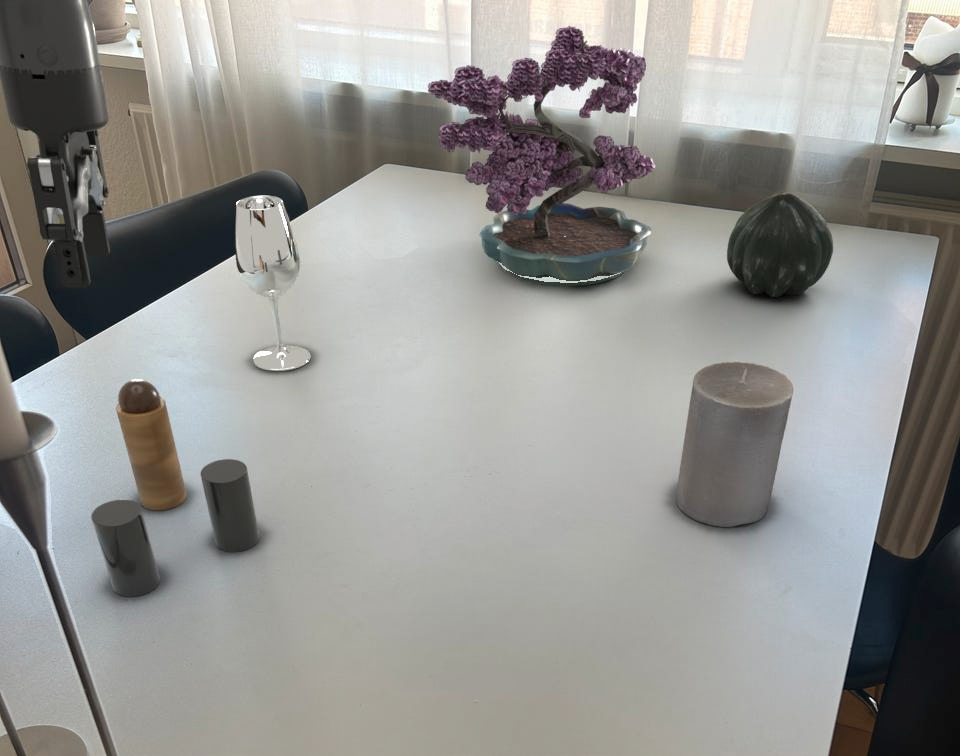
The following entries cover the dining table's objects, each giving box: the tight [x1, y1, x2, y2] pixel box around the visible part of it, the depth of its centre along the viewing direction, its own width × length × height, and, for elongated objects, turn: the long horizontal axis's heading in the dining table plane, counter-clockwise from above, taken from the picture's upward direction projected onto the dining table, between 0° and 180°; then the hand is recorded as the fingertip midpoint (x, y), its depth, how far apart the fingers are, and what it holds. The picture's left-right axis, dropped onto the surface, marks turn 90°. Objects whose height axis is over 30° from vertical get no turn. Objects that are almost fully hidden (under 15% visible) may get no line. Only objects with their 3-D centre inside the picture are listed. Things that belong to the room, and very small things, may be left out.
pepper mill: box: [115, 378, 188, 511], centre depth 103 cm, size 5×5×14 cm
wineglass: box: [234, 195, 312, 372], centre depth 126 cm, size 8×8×20 cm
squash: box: [726, 191, 834, 298], centre depth 147 cm, size 14×15×15 cm
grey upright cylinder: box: [200, 458, 260, 553], centre depth 98 cm, size 4×4×8 cm
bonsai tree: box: [427, 25, 657, 287], centre depth 148 cm, size 35×27×32 cm
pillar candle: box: [675, 361, 794, 528], centre depth 101 cm, size 10×10×15 cm
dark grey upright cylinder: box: [90, 499, 161, 598], centre depth 93 cm, size 4×4×8 cm
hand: (87, 270), depth 87 cm, fingers open, 8 cm apart
